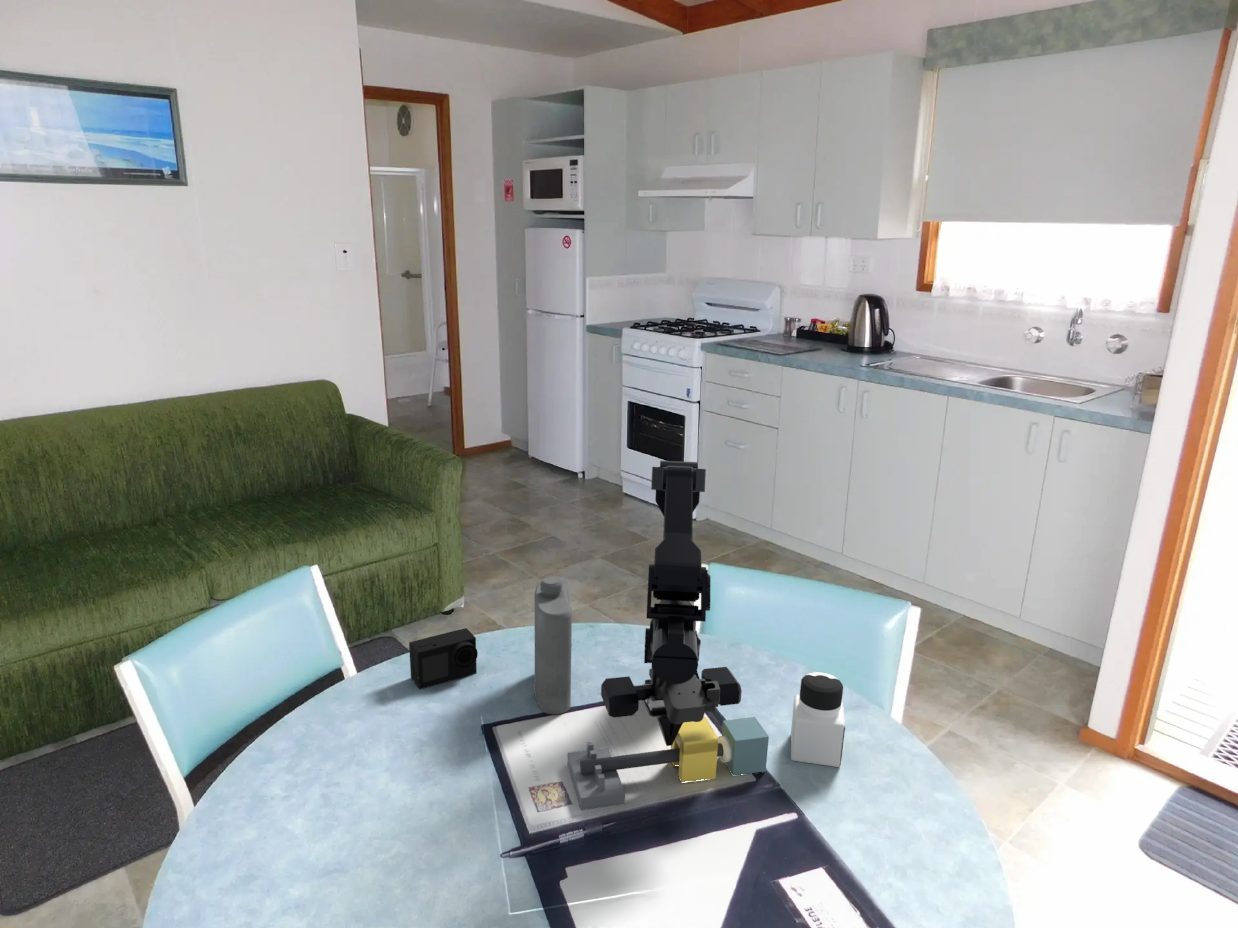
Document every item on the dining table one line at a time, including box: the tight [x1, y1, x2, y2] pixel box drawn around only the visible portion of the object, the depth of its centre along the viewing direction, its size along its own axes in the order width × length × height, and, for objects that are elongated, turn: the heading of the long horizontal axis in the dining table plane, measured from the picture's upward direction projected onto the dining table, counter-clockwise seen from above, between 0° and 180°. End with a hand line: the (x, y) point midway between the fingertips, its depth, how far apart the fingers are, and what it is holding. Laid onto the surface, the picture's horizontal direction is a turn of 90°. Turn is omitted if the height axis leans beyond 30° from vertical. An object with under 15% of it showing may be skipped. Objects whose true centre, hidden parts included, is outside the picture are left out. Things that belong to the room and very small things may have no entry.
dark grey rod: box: [580, 716, 770, 776], centre depth 116 cm, size 26×5×6 cm, turn 104°
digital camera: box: [408, 627, 479, 690], centre depth 140 cm, size 10×5×7 cm, turn 123°
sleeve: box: [670, 716, 719, 783], centre depth 117 cm, size 5×5×7 cm
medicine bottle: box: [790, 671, 846, 768], centre depth 122 cm, size 7×7×12 cm
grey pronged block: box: [567, 741, 626, 811], centre depth 114 cm, size 10×6×4 cm, turn 14°
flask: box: [534, 576, 573, 716], centre depth 135 cm, size 15×6×20 cm, turn 5°
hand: (668, 743), depth 116 cm, fingers closed
